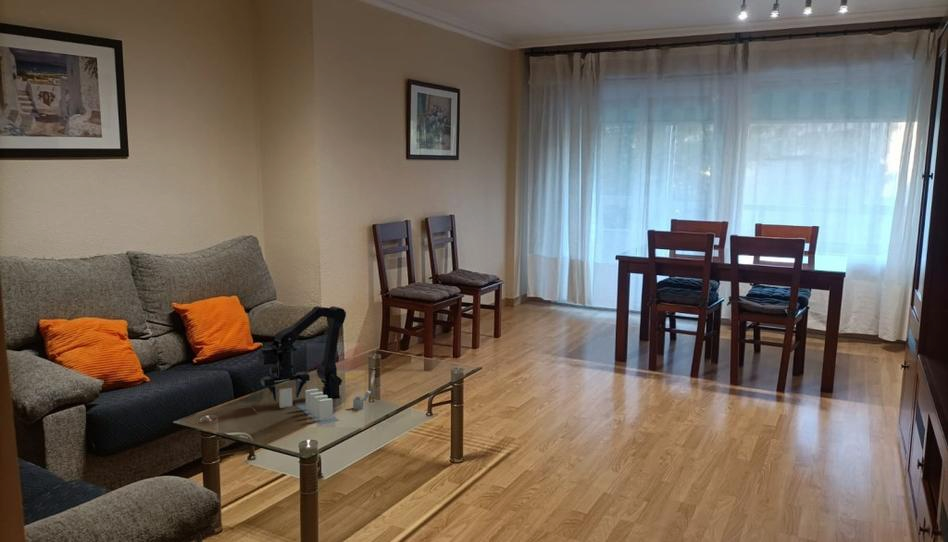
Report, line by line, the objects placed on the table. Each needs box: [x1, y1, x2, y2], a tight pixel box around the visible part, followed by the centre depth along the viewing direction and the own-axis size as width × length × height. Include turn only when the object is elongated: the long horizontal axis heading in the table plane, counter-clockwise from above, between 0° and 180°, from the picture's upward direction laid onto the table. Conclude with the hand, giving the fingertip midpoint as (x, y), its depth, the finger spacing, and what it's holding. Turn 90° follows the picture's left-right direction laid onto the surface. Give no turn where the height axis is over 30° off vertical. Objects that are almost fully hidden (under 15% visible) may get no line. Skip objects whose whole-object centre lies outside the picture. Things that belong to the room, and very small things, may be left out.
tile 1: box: [305, 388, 320, 410], centre depth 288 cm, size 2×5×8 cm, turn 122°
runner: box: [294, 401, 340, 425], centre depth 284 cm, size 30×8×1 cm, turn 33°
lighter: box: [352, 389, 372, 410], centre depth 289 cm, size 7×2×8 cm, turn 82°
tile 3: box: [314, 395, 328, 417], centre depth 279 cm, size 2×5×8 cm, turn 123°
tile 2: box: [310, 391, 323, 414], centre depth 283 cm, size 2×5×8 cm, turn 123°
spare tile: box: [278, 386, 293, 409], centre depth 291 cm, size 2×5×8 cm, turn 122°
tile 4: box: [319, 398, 334, 421], centre depth 275 cm, size 2×5×8 cm, turn 122°
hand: (285, 399), depth 291 cm, fingers open, 9 cm apart
